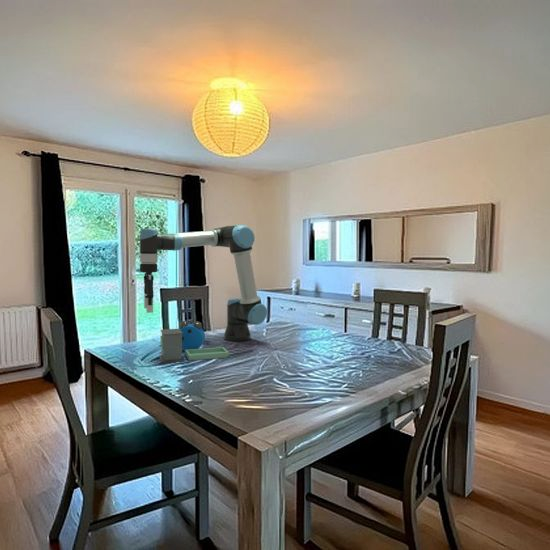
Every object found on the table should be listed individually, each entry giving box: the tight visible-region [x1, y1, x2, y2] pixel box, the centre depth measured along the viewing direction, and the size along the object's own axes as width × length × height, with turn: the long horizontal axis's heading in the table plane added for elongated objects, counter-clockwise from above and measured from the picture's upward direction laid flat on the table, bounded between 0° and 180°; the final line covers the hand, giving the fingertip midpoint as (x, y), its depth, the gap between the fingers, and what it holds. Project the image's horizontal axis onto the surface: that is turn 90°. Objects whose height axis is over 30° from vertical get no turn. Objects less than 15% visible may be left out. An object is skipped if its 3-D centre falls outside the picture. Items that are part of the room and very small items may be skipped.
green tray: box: [184, 346, 230, 362], centre depth 196 cm, size 19×11×2 cm, turn 111°
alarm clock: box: [179, 320, 206, 352], centre depth 205 cm, size 13×6×15 cm, turn 89°
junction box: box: [158, 328, 186, 364], centre depth 190 cm, size 10×12×13 cm
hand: (148, 310), depth 185 cm, fingers open, 13 cm apart
